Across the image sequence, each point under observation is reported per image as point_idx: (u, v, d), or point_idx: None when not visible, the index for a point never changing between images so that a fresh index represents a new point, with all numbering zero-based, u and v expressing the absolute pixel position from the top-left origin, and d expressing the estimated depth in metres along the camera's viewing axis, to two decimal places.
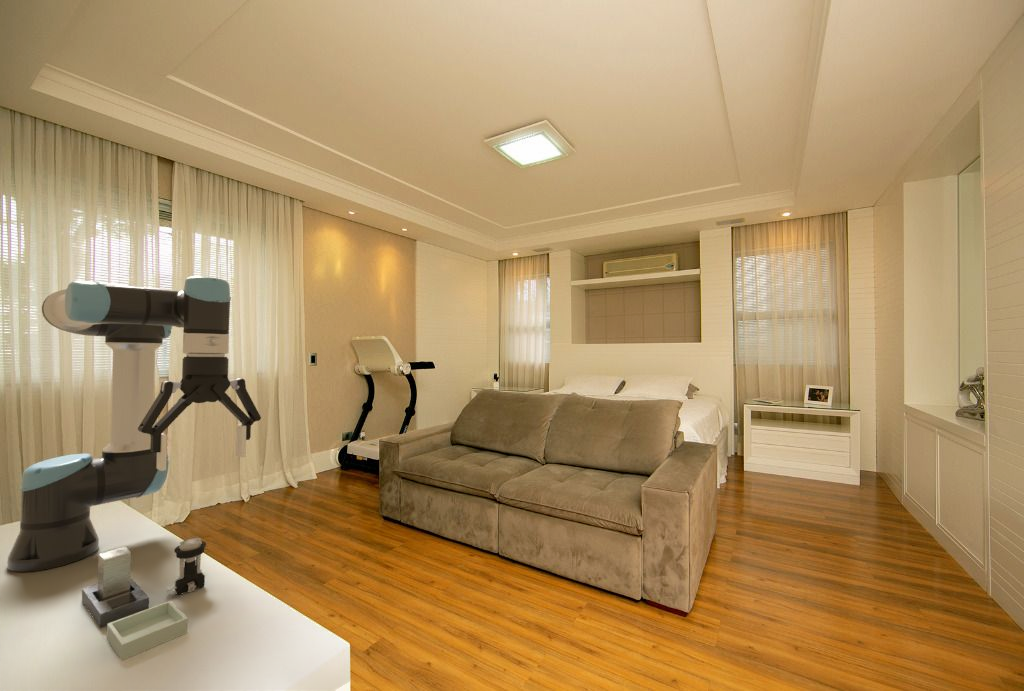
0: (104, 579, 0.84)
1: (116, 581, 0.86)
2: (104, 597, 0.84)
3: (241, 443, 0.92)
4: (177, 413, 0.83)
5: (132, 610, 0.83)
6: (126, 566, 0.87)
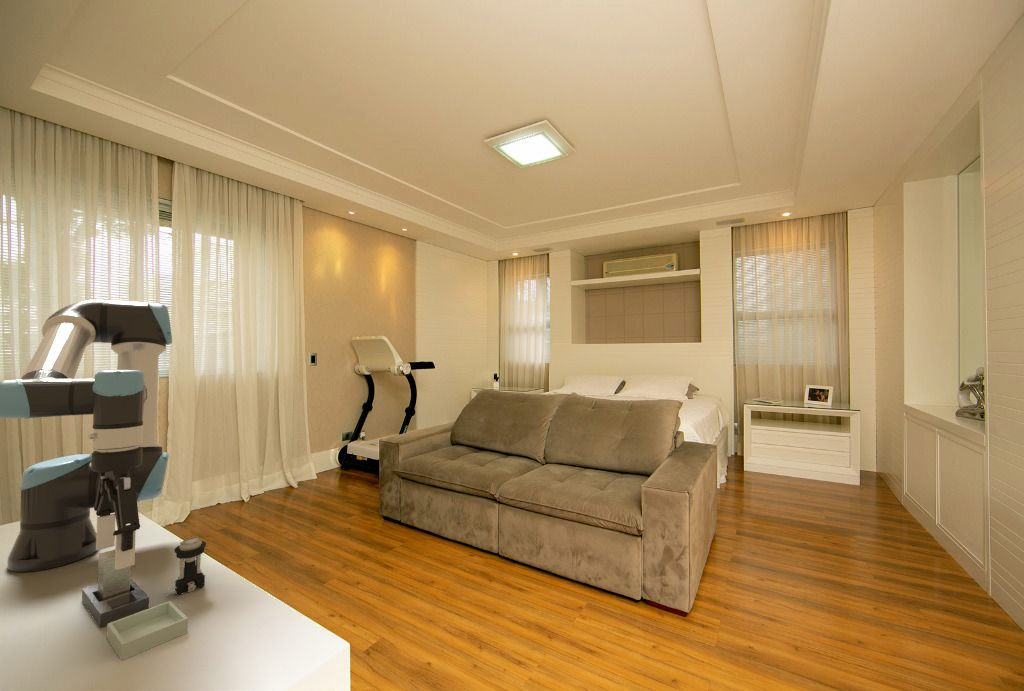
0: (104, 579, 0.84)
1: (116, 581, 0.86)
2: (104, 597, 0.84)
3: None
4: (101, 500, 0.89)
5: (132, 610, 0.83)
6: None
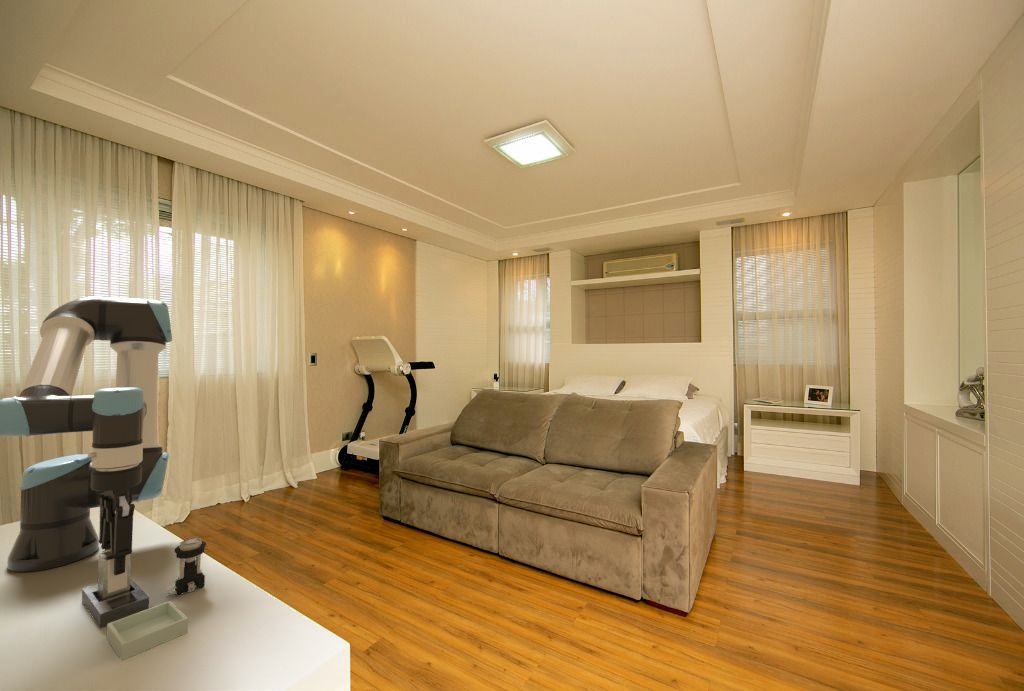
0: (104, 579, 0.84)
1: None
2: (104, 597, 0.84)
3: None
4: (104, 526, 0.87)
5: (132, 610, 0.83)
6: None
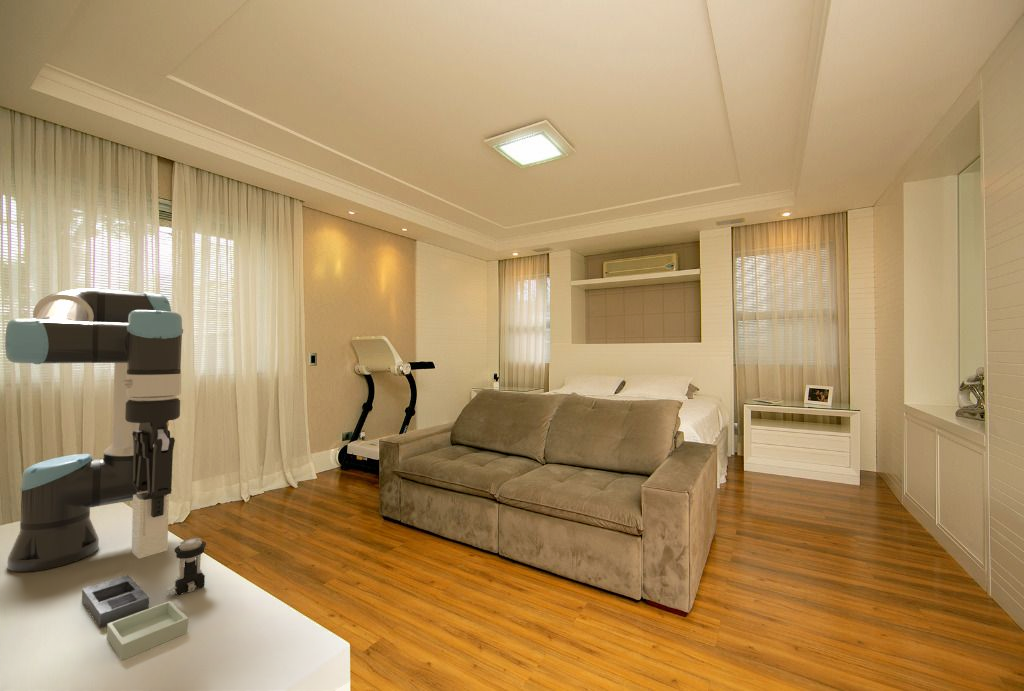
0: (140, 521, 0.75)
1: None
2: (140, 541, 0.75)
3: None
4: (139, 465, 0.78)
5: (132, 610, 0.83)
6: None
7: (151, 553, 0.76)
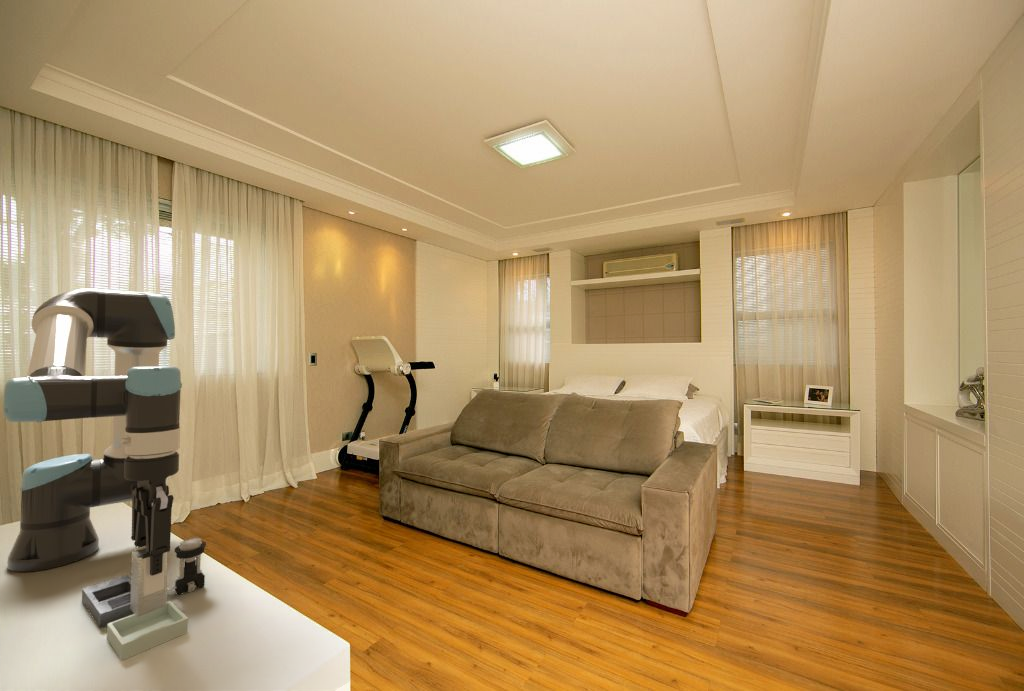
0: (139, 580, 0.75)
1: None
2: (139, 600, 0.75)
3: None
4: (138, 521, 0.78)
5: None
6: None
7: (150, 610, 0.76)
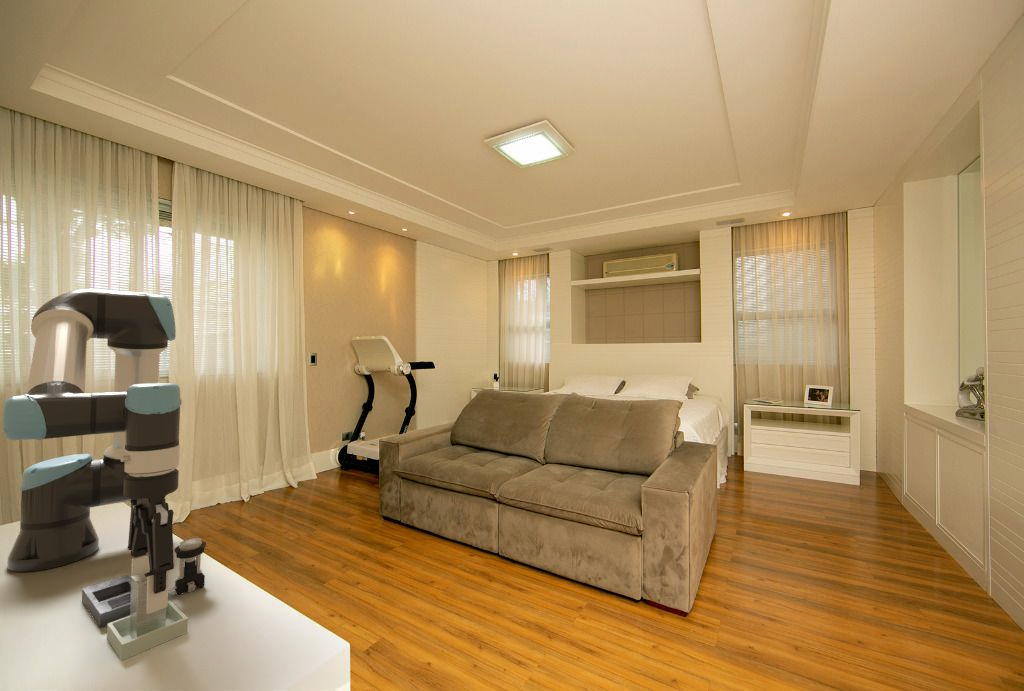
0: (138, 605, 0.75)
1: None
2: (138, 625, 0.75)
3: None
4: (135, 535, 0.79)
5: None
6: None
7: None
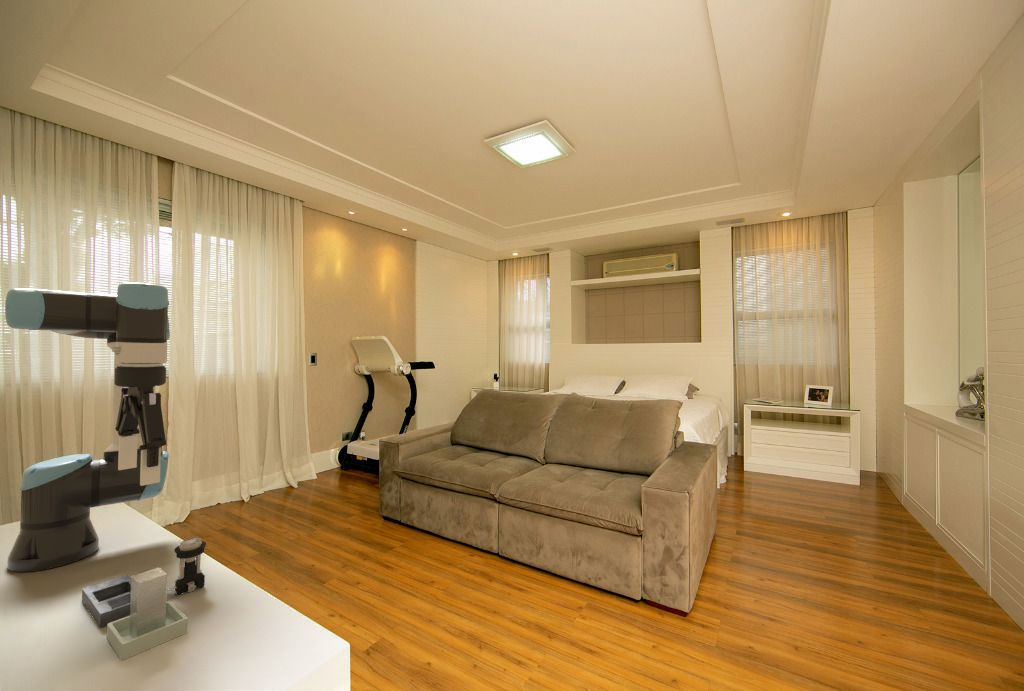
0: (138, 605, 0.75)
1: (151, 607, 0.76)
2: (138, 625, 0.75)
3: None
4: (123, 419, 0.86)
5: None
6: (162, 590, 0.78)
7: None
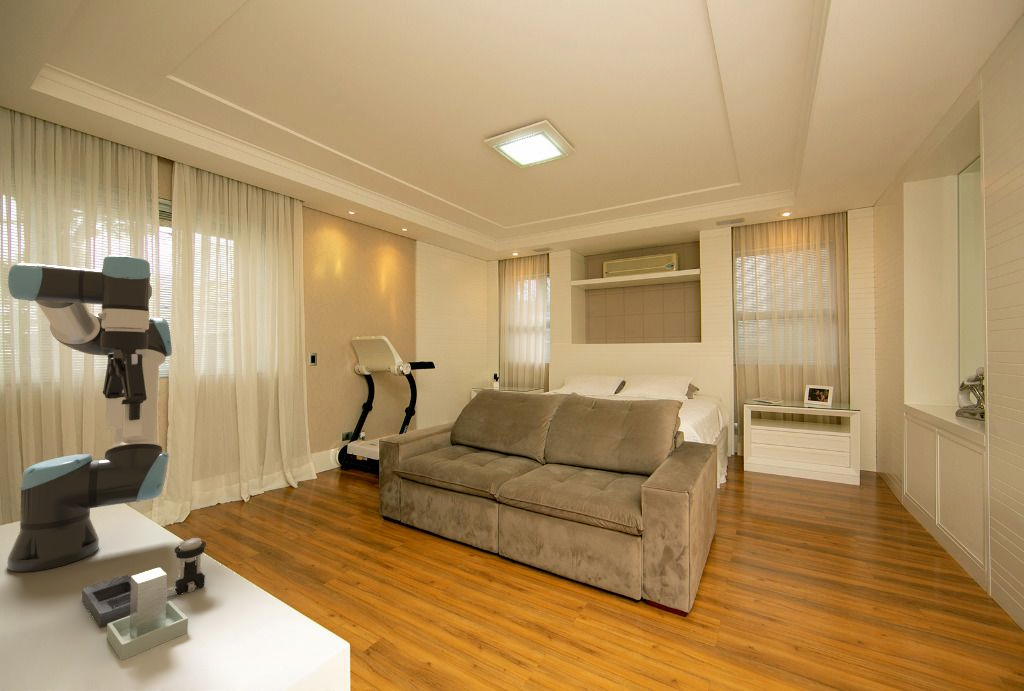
0: (138, 605, 0.75)
1: (151, 607, 0.76)
2: (138, 625, 0.75)
3: None
4: (109, 381, 0.94)
5: None
6: (162, 590, 0.78)
7: None
